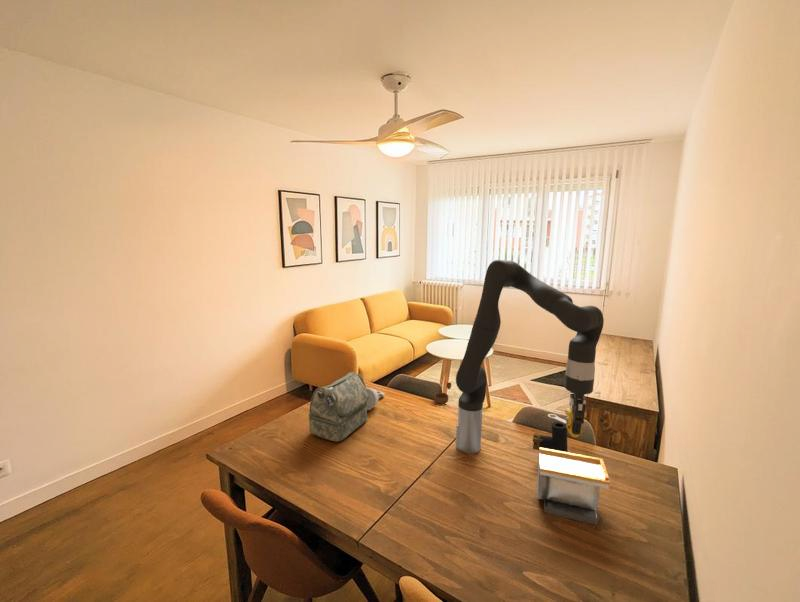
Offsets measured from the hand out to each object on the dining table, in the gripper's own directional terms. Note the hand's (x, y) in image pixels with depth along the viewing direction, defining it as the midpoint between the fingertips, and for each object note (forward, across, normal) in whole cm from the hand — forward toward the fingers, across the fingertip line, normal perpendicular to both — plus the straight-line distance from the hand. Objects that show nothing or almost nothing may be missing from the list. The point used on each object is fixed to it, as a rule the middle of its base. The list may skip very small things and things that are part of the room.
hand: (574, 428), depth 109 cm
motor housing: (+25, 0, 0) cm, 25 cm away
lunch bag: (+26, -18, -89) cm, 94 cm away
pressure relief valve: (+2, -2, -2) cm, 4 cm away
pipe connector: (+26, -22, -4) cm, 34 cm away
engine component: (+27, -44, -86) cm, 100 cm away
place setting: (+26, -61, -51) cm, 84 cm away
